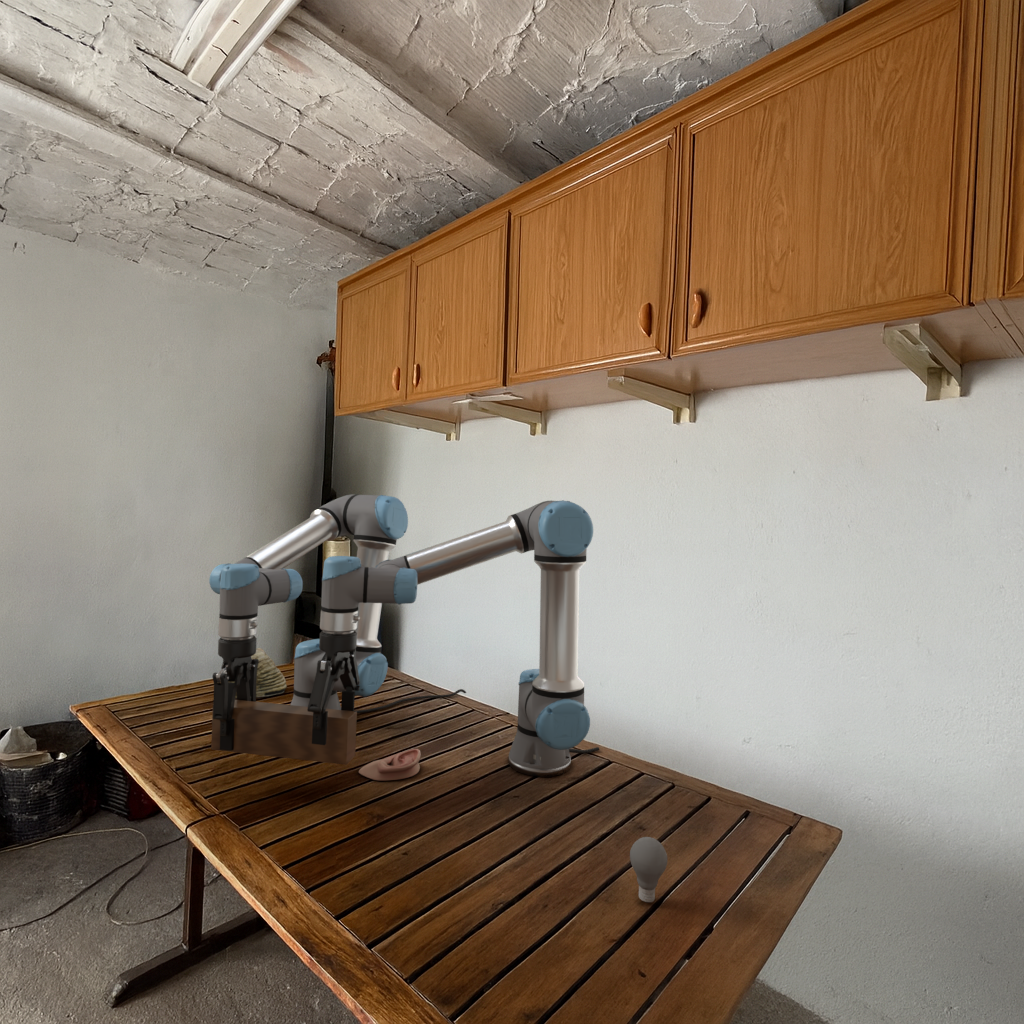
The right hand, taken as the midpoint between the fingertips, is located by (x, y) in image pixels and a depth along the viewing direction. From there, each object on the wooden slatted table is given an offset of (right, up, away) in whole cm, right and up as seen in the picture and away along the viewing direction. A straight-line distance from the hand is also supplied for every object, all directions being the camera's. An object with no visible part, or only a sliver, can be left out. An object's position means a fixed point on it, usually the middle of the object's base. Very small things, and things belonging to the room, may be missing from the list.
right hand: (333, 731), depth 132 cm
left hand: (-22, -4, +4) cm, 23 cm away
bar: (-11, -5, +2) cm, 12 cm away
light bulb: (+59, -18, -29) cm, 68 cm away
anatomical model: (+9, -15, +15) cm, 23 cm away
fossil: (-43, -11, +66) cm, 80 cm away
